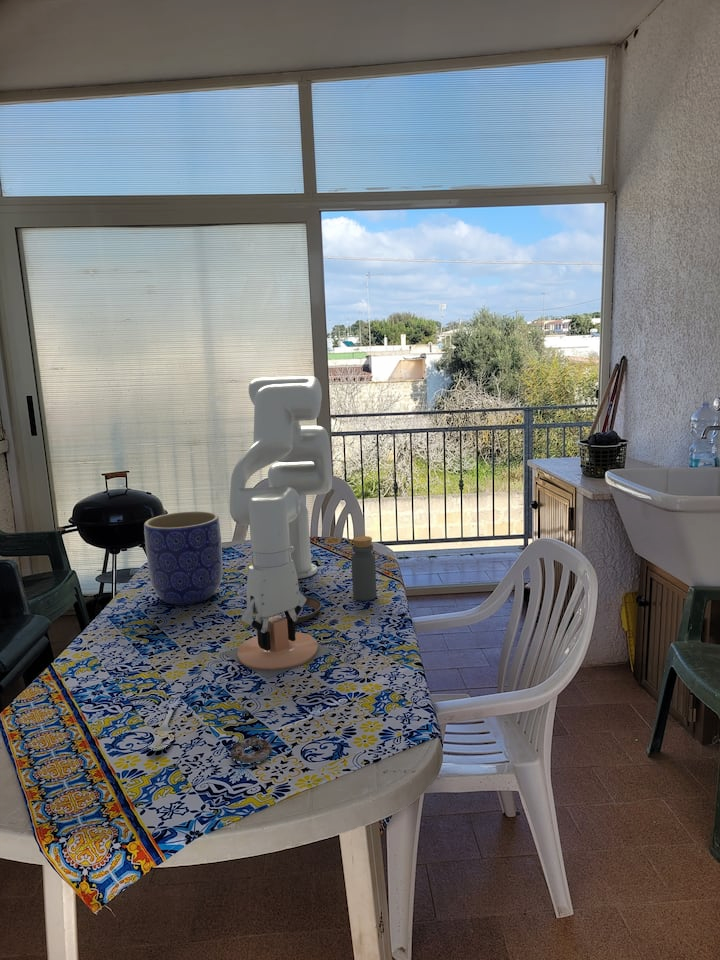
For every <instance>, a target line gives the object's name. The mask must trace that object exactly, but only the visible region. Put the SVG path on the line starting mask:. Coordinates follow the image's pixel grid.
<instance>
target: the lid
mask: <svg viewBox="0 0 720 960" xmlns="http://www.w3.org/2000/svg"><path fill="white" fill-rule="evenodd" d="M267 631H269V632H270V645H271V649H270V650H269V651H266V650H264V649H262V648H260V647H259V645H258V636H257V635H255V636H253V637H251V638H248V639H247V640H244V642H242V643H241V644H240V645H239V646H238V647H239V648H238V647H237V648H238V659H239V661H240V662H241V663H242V664H243V665H242V664H241V663H240V664H241V665H242V666H244V665H245V666H244V667H246V666H247V667H246V668H248V667H250V668H253V669H259V670H280V669H287V668H291V667H295V666H297V667H299V666H298V665H300V666H301V664H302V665H304V664H306V663H305V662H307V661H309V660H310V659H312V658H313V657H314V656H315V655H316V653H317V651H318V644H319V643H318V641H317V639H315V637H313V636H311V635H310V634H307V633H305V632H300V631H296V634H295V641H290V640H288V625H287V619H286V618H285V616H281V615H280V614H276V615H273V616H271V617H270V618H269V621H268V626H267ZM317 643H318V644H317ZM309 662H310V661H309ZM303 663H304V664H303ZM307 663H308V662H307ZM295 668H296V667H295Z"/></svg>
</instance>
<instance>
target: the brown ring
mask: <svg viewBox="0 0 720 960" xmlns="http://www.w3.org/2000/svg"><path fill="white" fill-rule="evenodd" d="M303 596H304V597H305V598H306V599H307V600H306V602H305V604H304V605H303V606H307V607H310V608H312V609H313V610H314V611H313V612H311V613H308V614H304V615H301V616H297V621H295V624H298V623H302V622H306V621H309V620H310V619H312V618H314V617H315V616H316V615H317V614H318V613H319V611H320V610H321V608H322V602H321V601H320V600H319V599H317V598H315V597H312V596H307V595H303ZM269 618H270V617H269Z"/></svg>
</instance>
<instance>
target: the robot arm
mask: <svg viewBox="0 0 720 960" xmlns="http://www.w3.org/2000/svg"><path fill="white" fill-rule="evenodd" d="M248 396H249V399H250V401H251V402H252V404H253V405H254V408H253V410H254V411H253V414H254V415H253V443H252V445H251V446H250V447H249V448H248V449H247V450H246V451H245V452H244V453H243V454H242V455H241V456H240V458H239V459H238V461H237V462H236V464H235V466H234V468H233V470H232V472H231V477H230V488H229V514H230V516H231V519H232V520H233V521H234V522H235V523H236V524H238V525H246V526H247V525H249V534H250V535H249V536H250V548H251V561H252V562H251V563H252V564H251V565H250V566H248V570H247V571H248V572H247V576H246V577H247V578H246V608H245V610H244V612H243V614H242V615H241V621H242V622H244V623H246V624H247V625H249V626H250V627H252V628H253V629H255V630H256V631H257V632H256V636H258V645H259V647H260V648H262V649H264V650H266V651H269V650H270V649H271V645H270V632H269V631H267V626H268V621H269V617H273V616H276V615H280V614H281V613H283V615H284V616H283V617H284V618H286V619H287V625H288V640H290V641H295V634H296V632H297V631H296V623H295V621H297V617H299V614H300V612H301V611H302V608H303V607H304V606H305V605H304V604H305V602H306V600H307V599H306V598H305V597H304V596H305V595H304V594H303V593H302V592H301V591H300V587H299V579H300V580H301V579H305V578H309V577H312V576H313V575H315V574H317V572H318V566H317V565H316V564H314V563H313V562H312V555H311V554H312V552H311V550H312V549H311V537H310V533H311V532H310V519H309V518H310V517H309V510H308V507H307V506H306V504H305V503H304V502H303V501H302V500H301V497H300V496H314V495H325V494H328V493H329V492H330V491H331V490H332V486H333V467H332V465H333V464H332V452H331V442H330V436H329V433H328V431H327V430H326V428H325V427H324V426H321V425H300V421H301V422H302V421H314V420H316V419H318V417H319V415H320V411H321V407H322V406H321V405H322V401H323V391H322V386H321V383H320V380H319V379H318V377H315V376H313V375H301V376H274V377H272V376H271V377H269V376H267V377H257V378H254V379H253V380H251V381H250V383H249V385H248ZM273 463H274V464H273ZM271 464H272V465H271ZM270 465H271V466H270ZM268 466H270V467H269V468H268V470H267V482H268V486H259V487H246V484H247V482H248V480H249V479H250V478H251V476H253V475H254V474H255V473H257V472H258V471H260V470H261V469H264V468H265V467H268ZM254 614H256V615H255V619H253V616H254Z"/></svg>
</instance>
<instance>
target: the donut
mask: <svg viewBox="0 0 720 960" xmlns="http://www.w3.org/2000/svg"><path fill="white" fill-rule="evenodd" d="M249 746H252V747H253V746H259V747H260V749H261V750H259V749H258V751H255V752H254V753H253V754H252V753H247V752H246V751H245V750H244V749H245V748H247V747H249ZM231 748H232V749H231V751H230V757H231V756H232V758H233V759H235V760H236V761H240V762H244V763H254V762H259V761H262V760H264V759H266V758H267V757H268V755H269V754H270V753H271V754H272V752H271V750H273V746H272V744H271V743H270V742H269V740H267V739H265V738H264V739H263V738H258V735H255V736H254V735H253V736H250V737H249V738H245V739H242V740H240V741H237V742H236V744H235V745H233V746H232V747H231ZM271 754H270V755H271ZM232 758H231V759H232ZM233 759H232V760H233Z"/></svg>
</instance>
